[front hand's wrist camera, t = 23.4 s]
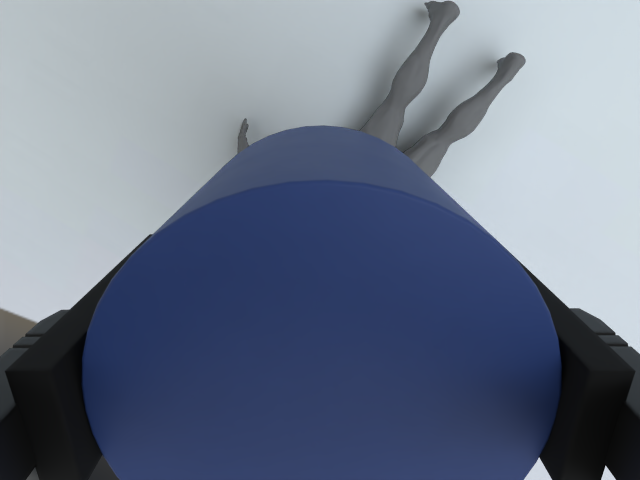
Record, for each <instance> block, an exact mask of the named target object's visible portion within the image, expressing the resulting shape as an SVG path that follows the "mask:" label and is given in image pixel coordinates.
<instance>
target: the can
mask: <svg viewBox="0 0 640 480" xmlns="http://www.w3.org/2000/svg"><path fill="white" fill-rule="evenodd" d="M561 381H562V363H561V356H560V349H559V342H558V337H557V333H556V330H555V327H554V324H553V321H552V318H551V315H550V311H549V310H548V308H547V306H546V304H545V302H544V300H543V298H542V296H541V294H540V292H539V290H538V288H537V286H536V285H535V283H534V282H533V281H532V279H531V278H530V277H529V275H528V274H527V273H526V271H525V270H524V269H523V267H522V266H521V265H520V263H519V262H518V261H517V260H516V259H515V258H514V257H513V256H512V255H511V254H510V253H509V252H508V251H507V250H506V249H505V248H504V247H503V246H502V245H501V244H500V243H499V242H498V241H497V240H496V239H495V238H494V237H493V236H492V235H491V234H489V233H488V232H487V231H486V230H485V229H484V228H483V227H482V226H481V225H480V224H479V223H478V222H477V221H476V220H475V219H474V218H472V217H471V216H470V215H469V214H468V213H467V212H466V211H465V210H464V209H463V208H462V207H461V206H460V205H459V204H458V203H457V202H455V201H454V200H453V199H452V198H451V197H450V196H449V195H448V194H447V193H446V192H445V191H444V190H443V189H442V188H441V187H440V186H438V185H437V184H436V183H435V182H434V181H433V180H432V179H431V178H430V177H429V176H428V175H427V174H426V173H425V172H424V171H423V170H421V169H420V168H419V167H418V166H417V165H416V164H415V163H414V162H413V161H412V160H411V159H410V158H409V157H408V156H406V155H405V154H403V153H402V152H401V151H399V150H398V149H397V148H395V147H394V146H392V145H390V144H388V143H387V142H385V141H383V140H381V139H379V138H377V137H374V136H372V135H369V134H366V133H364V132H361V131H357V130H353V129H348V128H344V127H334V126H305V127H300V128H294V129H289V130H285V131H282V132H279V133H276V134H273V135H270V136H267V137H265V138H263V139H261V140H259V141H257V142H255V143H253V144H252V145H250V146H249V147H247V148H246V149H244V150H243V151H241V152H240V153H238V154H237V155H236V156H235V157H234V158H233V159H231V160H230V161H229V162H228V163H227V164H226V165H225V166H224V167H223V168H222V169H221V170H220V171H219V172H217V173H216V174H215V175H214V176H213V177H212V178H211V179H210V180H209V181H208V182H207V183H206V184H205V185H204V186H203V187H202V188H201V189H200V190H199V191H198V192H197V193H196V194H195V195H194V196H192V197H191V198H190V199H189V200H188V201H187V202H186V203H185V204H184V205H183V206H182V207H181V208H180V209H179V210H178V211H177V212H176V213H175V214H174V215H173V216H172V217H171V218H170V219H168V220H167V221H166V222H165V223H164V224H163V225H162V226H161V227H160V228H159V229H158V230H157V231H156V232H155V233H154V234H153V235H152V236H151V237H150V238H149V239H148V240H147V241H146V242H144V243H143V244H142V245H141V246H140V247H139V248H138V249H137V250H136V251H135V252H134V253H133V254H132V255H131V256H130V257H129V259H128V260H127V261H126V262H125V264H124V265H123V266H122V267H121V268H120V270H119V271H118V272H117V273H116V275H115V276H114V277H113V278H112V280H111V281H110V283H109V285H108V287H107V288H106V290H105V292H104V294H103V295H102V297H101V299H100V300H99V302H98V304H97V307H96V309H95V312H94V314H93V317H92V320H91V322H90V325H89V328H88V331H87V336H86V341H85V346H84V351H83V357H82V391H83V398H84V405H85V411H86V414H87V417H88V420H89V424H90V427H91V430H92V433H93V435H94V438H95V440H96V442H97V444H98V446H99V448H100V450H101V452H102V454H103V456H104V458H105V459H106V461H107V462H108V464H109V465H110V467H111V468H112V470H113V471H114V473H115V474H116V476H117V477H118V478H119V479H120V480H524V478H525V477H526V476H527V474H528V473H529V471H530V470H531V469H532V467H533V466H534V464H535V463H536V462H537V460H538V458H539V456H540V454H541V452H542V450H543V449H544V447H545V445H546V443H547V441H548V439H549V436H550V433H551V430H552V428H553V424H554V421H555V417H556V413H557V409H558V405H559V400H560V395H561Z"/></svg>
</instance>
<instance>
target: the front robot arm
mask: <svg viewBox="0 0 640 480" xmlns="http://www.w3.org/2000/svg"><path fill="white" fill-rule="evenodd" d="M152 235H153V234H150V235H149V236H148V237H146V238H145V239H144V240H143V241H142V242H141V243H140V244H139V245H138V246H137V247H136V248H135V249H134V250H133V251H132V252H131V253H129V254H128V255H127V256H126V257H125V258H124V259H123V260H122V261H121V262H120V263H119V264H118V265H117V266H116V267H115V268H114V269H112V270H111V271H110V272H109V273H108V274H107V275H106V276H105V277H104V278H103V279H102V280H101V281H100V282H99V283H98V284H97V285H95V286H94V287H93V288H92V289H91V290H90V291H89V292H88V293H87V294H86V295H85V296H84V297H83V298H82V299H81V300H80V301H79V302H77V303H76V304H75V305H74V306H73V307H72V308H71V309H70V310H60V311H58V312H57V313H55V314H53V315H51V316H49V317H47V318H45V319H43V320H41V321H40V322H39V323H38V324H37V325H35V326H34V327H33V328H32V329H31V330H30V331H29V332H28V333H26V336H25V337H22V338H21V339H20V340H18V341H17V342H16V343H15V344H14V345H13V348H9V349H8V350H7V351H6V352H5V353H4V354H3V355H1V356H0V480H26V479H27V477H28V476H29V475H30V473H31V472H32V470H33V469H34V468H35V467H36V471H37V474H38V477H39V480H88V479H89V477H90V475H91V474H92V472H93V470H94V468H95V466H96V465H97V463H98V461H99V460H100V458H101V456H102V452H101V450H100V448H99V446H98V444H97V442H96V440H95V438H94V435H93V433H92V430H91V427H90V424H89V420H88V417H87V414H86V411H85V405H84V398H83V391H82V357H83V351H84V346H85V341H86V336H87V331H88V328H89V325H90V322H91V320H92V317H93V314H94V312H95V309H96V307H97V304H98V302H99V300H100V299H101V297H102V295H103V294H104V292H105V290H106V288H107V287H108V285H109V283H110V281H111V280H112V278H113V277H114V276H115V275H116V273H117V272H118V271H119V270H120V268H121V267H122V266H123V265H124V264H125V262H126V261H127V260H128V259H129V257H130V256H131V255H132V254H133V253H134V252H135V251H136V250H137V249H138V248H139V247H140V246H141V245H142V244H143V243H144V242H146V241H147V240H148V239H149V238H150V237H151V236H152ZM505 249H506V248H505ZM506 250H507V249H506ZM507 251H508V250H507ZM508 252H509V251H508ZM509 253H510V252H509ZM510 254H511V253H510ZM511 255H512V254H511ZM512 256H513V255H512ZM513 257H514V256H513ZM514 258H515V257H514ZM515 259H516V258H515ZM516 260H517V259H516ZM517 261H518V260H517ZM518 262H519V261H518ZM519 263H520V262H519ZM520 265H521V266H522V267H523V269H524V270H525V271H526V273H527V274H528V275H529V277H530V278H531V279H532V281H533V282H534V283H535V285H536V286H537V288H538V290H539V292H540V294H541V296H542V298H543V300H544V302H545V304H546V306H547V308H548V310H549V311H550V315H551V318H552V321H553V324H554V327H555V330H556V333H557V337H558V342H559V349H560V356H561V363H562V381H561V395H560V400H559V405H558V409H557V413H556V417H555V421H554V424H553V428H552V430H551V433H550V436H549V439H548V441H547V443H546V445H545V447H544V449H543V450H542V452H541V454H540V456H539V457H540V459H541V461H542V463H543V464H544V466H545V468H546V470H547V471H548V473H549V475H550V477H551V478H552V480H601V478H602V475H603V472H604V468H605V465H606V466H607V468H608V469H609V470H610V472H611V473H612V475H613V476H614V477H615V479H616V480H640V354H639V353H638V352H637V351H636V350H634V349H633V348H632V347H628V343H626V342H625V341H624V340H623V339H622V338H621V337H620V336H618V335H615V332H614V331H613V330H612V329H611V328H609V327H608V326H607V325H606V324H605V323H604V322H603V321H601V320H600V319H598V318H596V317H594V316H593V315H591V314H589V313H587V312H585V311H583V310H581V309H579V308H568V307H567V306H566V305H565V304H564V303H563V302H562V301H561V300H560V299H559V298H558V297H556V296H555V295H554V294H553V293H552V292H551V291H550V290H549V289H548V288H547V287H546V286H545V285H544V284H543V283H542V282H541V281H540V280H538V279H537V278H536V277H535V276H534V275H533V274H532V273H531V272H530V271H529V270H528V269H527V268H526V267H525V266H524V265H523V264H521V263H520Z"/></svg>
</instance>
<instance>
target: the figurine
mask: <svg viewBox="0 0 640 480" xmlns="http://www.w3.org/2000/svg"><path fill="white" fill-rule="evenodd" d="M425 5H426V7H427V9H428V12H429V18H430V21H431V22H430V25H429V28H428V30H427V32H426V34H425V35H424V37H423V38H422V40H421V41H420V43H419V44H418V46H417V47H416V49H415V50H414V51H413V52H412V53H411V55H410V56H409V57H408V58H407V60H406V61H405V62H404V63H403V65H402V66H401V68H400V69H399V70H398V72H397V74H396V76H395V78H394V80H393V83H392V87H391V90H390V93H389V95H388V96H387V98H386V99H385V101H384V102H383V103H382V104H381V105H380V106H379V107H378V108H377V110H376V111H375V112H374V114H373V115H372V117H371V118H370V119H369V120H368V122H367V123H366V124H365V125H364V126H363V128H362V129H361V130H360V131H361V132H364V133H366V134H369V135H372V136H374V137H377V138H379V139H381V140H383V141H385V142H387V143H388V144H390V145H392V146H394V147H396V143H397V138H398V134H399V132H400V129H401V127H402V125H403V121H404V113H405V108H406V107H407V105H408V104H409V103H410V102H411V101H412V100H413V99H414V98H415V97H416V96H417V95H418V94H419V93H420V92H421V90H422V89H423V87H424V86H425V84H426V81H427V78H428V72H429V64H430V59H431V56H432V53H433V51H434V48H435V46H436V44H437V42H438V40H439V38H440V36H441V35H442V33H443V32H444V31H445V30H446V29H447V27H448V26H449V25H450V24H451V23H452V22H453V21H454V20H455V19H456V18H457V17H458V16H459V14H460V10H459V7H458V6H457V5H456V4H455V3H454V2H452V1H445V2H436V1H430V2H428V3H425ZM497 63H498V71H497V73H496V75H495V76H494V78H493V79H492V80H491V81H490V82H489V83H488V84H487V85H486V86H485V87H484V88H483V89H481V90H480V91H479V92H478V93H477V94H476V95H474V96H473V97H471V98H470V99H468V100H466V101H464V102H463V103H461V104H460V105H458V106H457V107H456V108H455V109H454V110H453V111H452V112H451V113H450V114H449V116H448V117H447V119H446V121H445V122H444V124H443V125H442V126H441V127H440V128H439V129H438V130H435V131H433V132H431V133H429V134H427V135H425V136H423V137H422V138H421V139H420V140H419V141H418V142H417V143H416V144H415V145H413V146H412V147H411V148H409V149H408V150H406V151H405V152H404V153H403V154H405V155H406V156H408V157H409V158H410V159H411V160H412V161H413V162H414V163H415V164H416V165H417V166H418V167H419V168H420V169H421V170H423V171H424V172H425V173H426V174H427V175H428V176H429V177H431V176H432V175H433V174H434V172H435V171H436V170H437V168H438V166H439V164H440V162H441V160H442V158H443V156H444V155H445V153H446V151H447V149H448V147H449V146H450V144H452V143H453V142H455V141H457V140H459V139H462V138H464V137H466V136H467V135H469V134H470V133H471V132H473V131H474V129H475V128H476V127H477V126H478V124H479V123H480V122H481V120H482V119H483V117H484V116H485V114H486V112H487V109H488V107H489V106H490V104H491V103H492V101H493V100H494V99H495V97H496V96H497V94H498V93H499V92H500V91H501V89H502V88H503V87H504V86H505V85H506V84H507V83H509V82H510V81H511V80H512V79H513V78H514V76H515V75H516V73H517V72H518V71H519V69H520V68H521V67H523V65H524V64H525V58H524V56H522V55H521V54H518V53H514V52H512V53H509V54H508V55H507V56H506V57H505V58H501V59H500V60H498V61H497ZM246 123H247V119H244V121H243V123H242V126H241V130H240V133H239V136H238V153H240V152H241V151H243V150H244V149H246V148H247V147H249V145H248V143H247V138H246V137H245V136H246V135H245V134H246V132H247V129H248V124H246ZM238 153H237V154H238Z"/></svg>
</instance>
